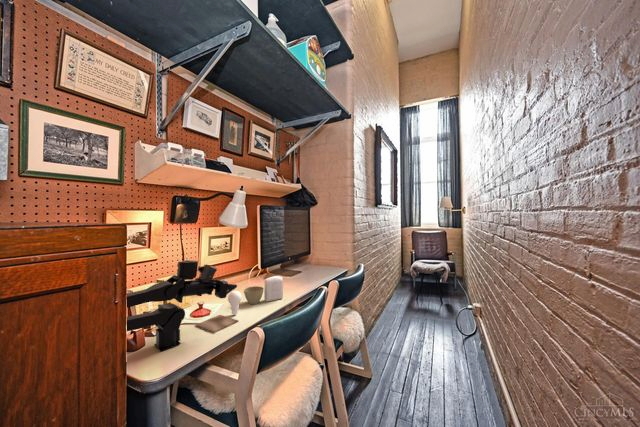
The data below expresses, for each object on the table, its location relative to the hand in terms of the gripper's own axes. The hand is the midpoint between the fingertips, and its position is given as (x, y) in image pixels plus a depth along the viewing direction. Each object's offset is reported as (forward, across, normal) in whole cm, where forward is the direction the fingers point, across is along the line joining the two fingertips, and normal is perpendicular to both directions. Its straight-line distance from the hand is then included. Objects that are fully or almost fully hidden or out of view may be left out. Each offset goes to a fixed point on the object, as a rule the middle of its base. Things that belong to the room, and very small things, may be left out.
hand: (230, 284), depth 110 cm
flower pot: (+22, +12, +14) cm, 29 cm away
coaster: (-3, +2, +17) cm, 17 cm away
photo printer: (+32, +7, +12) cm, 35 cm away
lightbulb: (+7, +5, +16) cm, 18 cm away
